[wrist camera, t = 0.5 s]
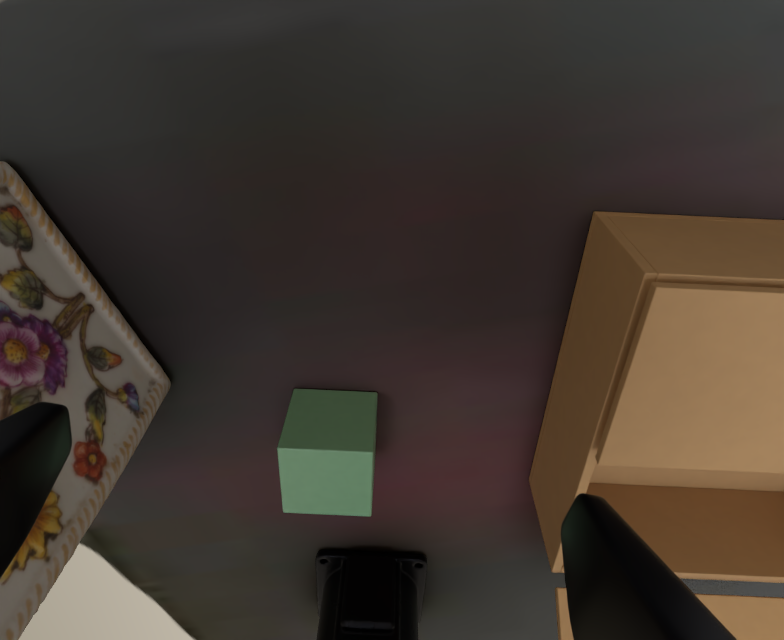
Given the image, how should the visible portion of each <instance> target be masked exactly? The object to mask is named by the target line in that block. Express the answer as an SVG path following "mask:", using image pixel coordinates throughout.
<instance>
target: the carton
mask: <svg viewBox="0 0 784 640" xmlns="http://www.w3.org/2000/svg"><path fill="white" fill-rule="evenodd" d="M529 483H530V487H531V491H532V495H533V499H534V503H535V507H536V511H537V515H538V519H539V523H540V527H541V531H542V535H543V539H544V543H545V547H546V551H547V555H548V559H549V563H550V567H551V571H552V572H555V573H560V572H561V573H564V563H563V554H562V544H561V525H562V522H563V520H564V518H565V516H566V514H567V512H568V511H569V509H570V507H571V505H572V503H573V501H574V500H575V498H576V497H577V495H579V494H580V493H585V494H591V495H597V496H601V497H603V498H604V499H605V500H606V501H607V502H608V503H609V504H610V505H611V506H612V507H613V508H614V509H615V510H616V511H617V512H618V513H619V515H620V516H621V517H622V518H623V519H624V520H625V521H626V522H627V523H628V524H629V525H630V526H631V527H632V528H633V529H634V531H635V532H636V533H637V534H638V535H639V536H640V537H641V538H642V539H643V540H644V541H645V542H646V543H647V544H648V545H649V546H650V548H651V549H652V550H653V551H654V552H655V553H656V554H657V555H658V556H659V557H660V558H661V559H662V560H663V561H664V562H665V563H666V565H667V566H668V567H669V568H670V569H671V570H672V571H673V572H674V573H675V574H676V575H677V576H678V577H679V578H686V579H708V580H730V581H752V582H774V583H784V220H769V219H748V218H726V217H705V216H684V215H663V214H642V213H621V212H599V211H594V212H593V216H592V220H591V224H590V228H589V233H588V237H587V241H586V245H585V249H584V253H583V257H582V261H581V266H580V270H579V274H578V278H577V282H576V286H575V290H574V294H573V299H572V303H571V307H570V311H569V315H568V319H567V323H566V327H565V332H564V336H563V340H562V344H561V348H560V352H559V356H558V360H557V365H556V369H555V373H554V377H553V381H552V385H551V389H550V394H549V398H548V402H547V406H546V410H545V414H544V418H543V422H542V427H541V431H540V435H539V439H538V443H537V447H536V451H535V455H534V460H533V464H532V468H531V472H530V476H529Z"/></svg>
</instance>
